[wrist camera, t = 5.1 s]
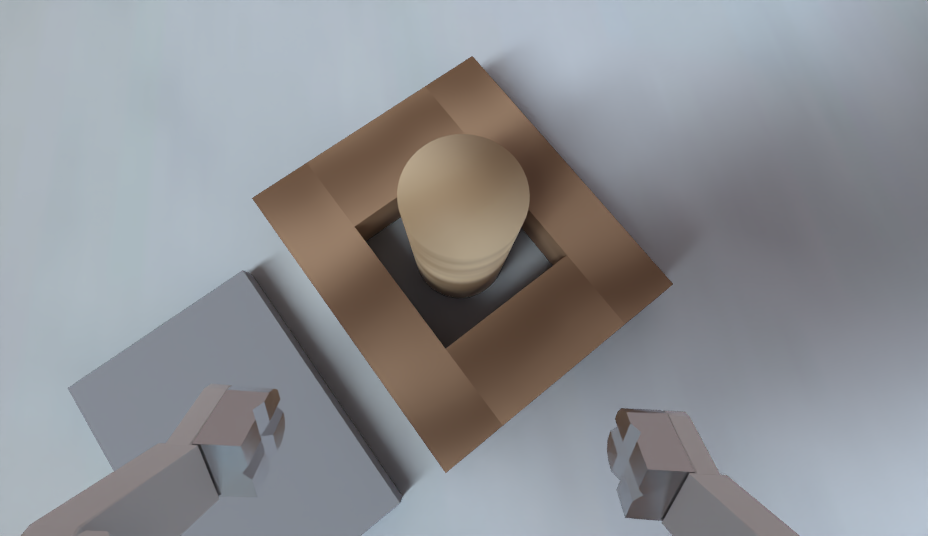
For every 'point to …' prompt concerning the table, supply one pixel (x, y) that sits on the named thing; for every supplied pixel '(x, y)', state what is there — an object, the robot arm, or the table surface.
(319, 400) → the slate mat
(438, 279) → the tan domed cylinder
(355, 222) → the well board
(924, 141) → the table surface
